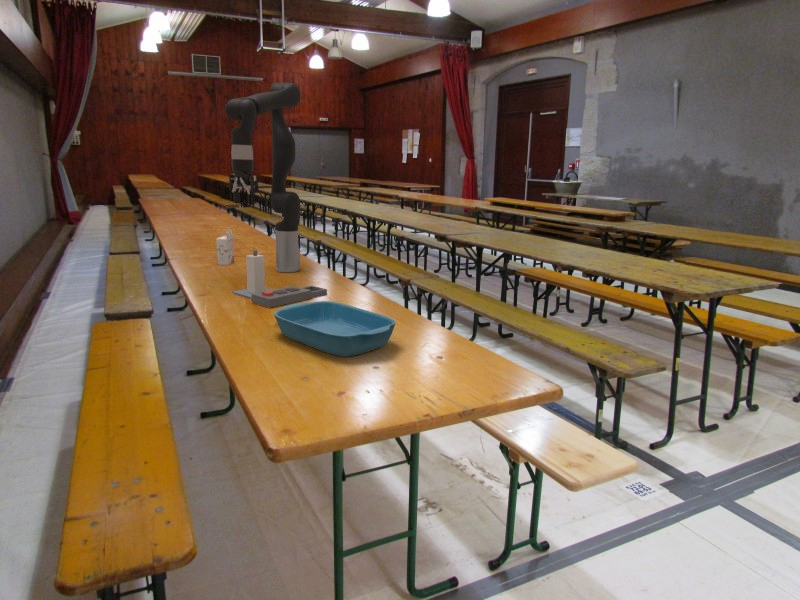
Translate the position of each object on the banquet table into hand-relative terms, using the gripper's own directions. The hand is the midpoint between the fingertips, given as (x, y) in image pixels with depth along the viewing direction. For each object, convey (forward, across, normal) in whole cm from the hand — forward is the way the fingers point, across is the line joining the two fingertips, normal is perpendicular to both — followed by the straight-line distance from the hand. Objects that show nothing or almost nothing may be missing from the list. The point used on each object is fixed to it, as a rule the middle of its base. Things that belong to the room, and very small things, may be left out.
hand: (244, 203), depth 206 cm
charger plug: (+30, -14, +6) cm, 33 cm away
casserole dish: (+31, -70, +23) cm, 80 cm away
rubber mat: (+30, -14, +6) cm, 34 cm away
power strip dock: (+30, -28, +2) cm, 41 cm away
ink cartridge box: (+30, +40, -18) cm, 53 cm away
